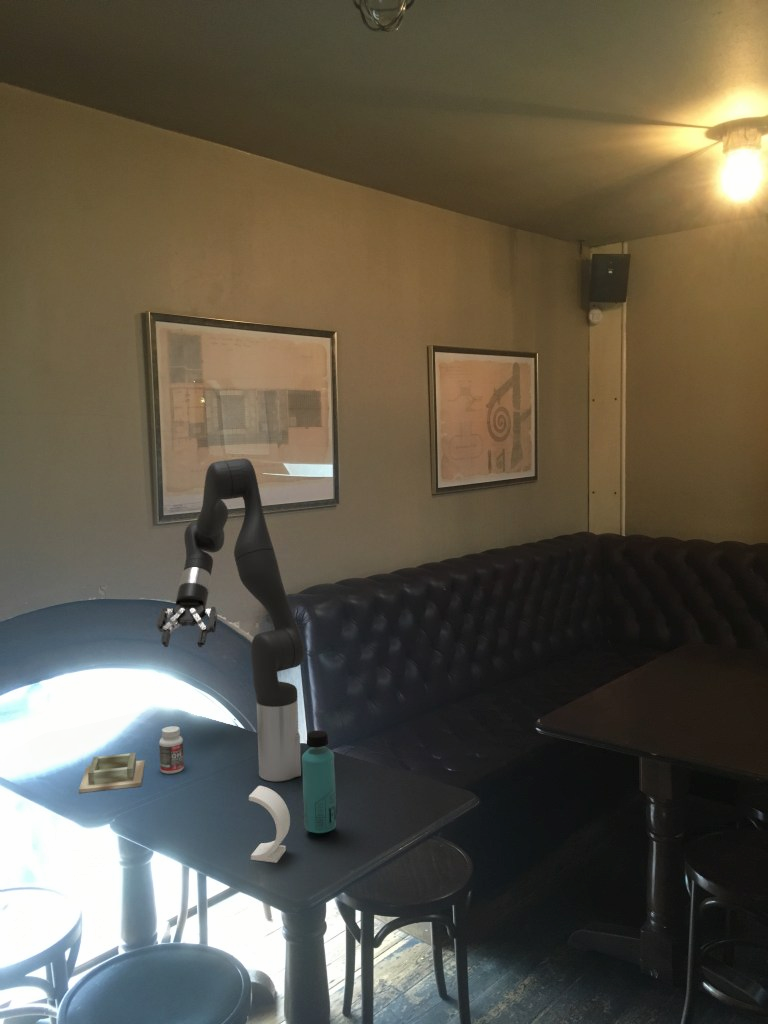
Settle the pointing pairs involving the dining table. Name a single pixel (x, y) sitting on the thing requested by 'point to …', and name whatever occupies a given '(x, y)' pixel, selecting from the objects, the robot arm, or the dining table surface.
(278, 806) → the headphone stand
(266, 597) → the robot arm
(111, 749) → the dining table surface
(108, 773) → the holder
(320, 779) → the beverage bottle
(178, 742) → the pill bottle
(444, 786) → the dining table surface
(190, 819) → the dining table surface
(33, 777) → the dining table surface
